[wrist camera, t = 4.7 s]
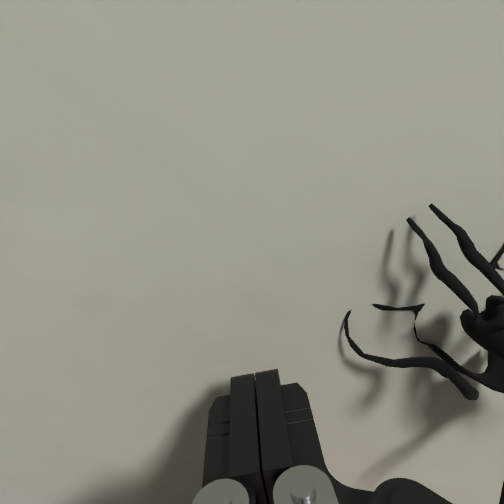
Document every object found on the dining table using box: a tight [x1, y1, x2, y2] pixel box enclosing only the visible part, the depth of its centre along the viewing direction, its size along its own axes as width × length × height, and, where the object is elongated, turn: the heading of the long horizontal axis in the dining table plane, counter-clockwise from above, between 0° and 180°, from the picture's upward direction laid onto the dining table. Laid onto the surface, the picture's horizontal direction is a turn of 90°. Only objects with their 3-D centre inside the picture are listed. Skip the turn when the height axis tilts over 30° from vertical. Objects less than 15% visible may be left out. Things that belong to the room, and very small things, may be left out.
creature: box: [344, 204, 504, 504], centre depth 11 cm, size 8×5×8 cm
